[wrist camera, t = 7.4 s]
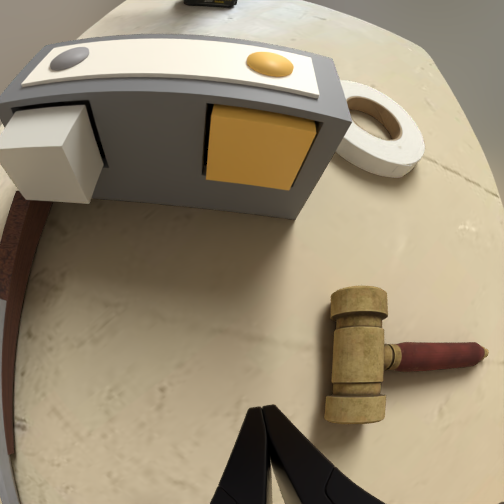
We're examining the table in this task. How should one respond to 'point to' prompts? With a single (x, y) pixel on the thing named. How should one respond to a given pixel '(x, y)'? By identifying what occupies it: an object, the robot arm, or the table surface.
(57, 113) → the grey button
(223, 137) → the amber button
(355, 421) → the gavel
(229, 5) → the power drill
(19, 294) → the brown and grey bar
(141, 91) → the console
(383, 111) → the roll of tape
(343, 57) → the table surface
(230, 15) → the table surface
